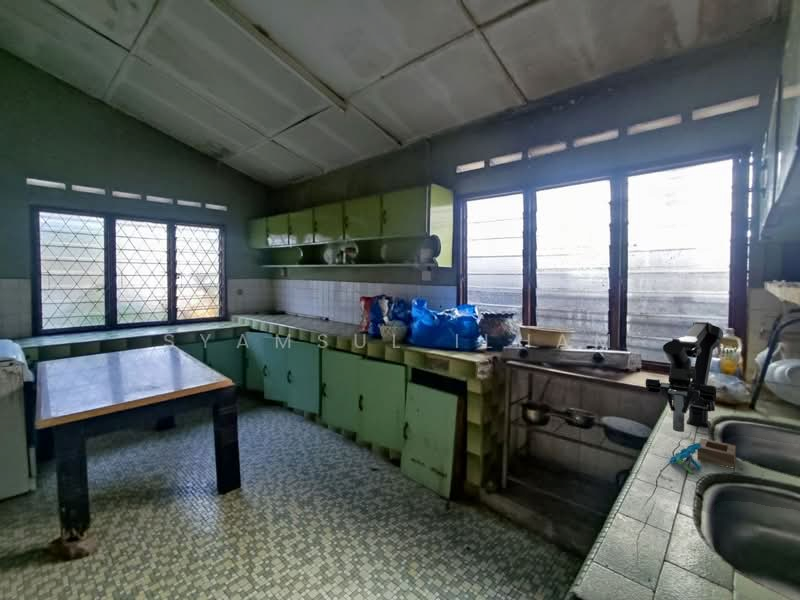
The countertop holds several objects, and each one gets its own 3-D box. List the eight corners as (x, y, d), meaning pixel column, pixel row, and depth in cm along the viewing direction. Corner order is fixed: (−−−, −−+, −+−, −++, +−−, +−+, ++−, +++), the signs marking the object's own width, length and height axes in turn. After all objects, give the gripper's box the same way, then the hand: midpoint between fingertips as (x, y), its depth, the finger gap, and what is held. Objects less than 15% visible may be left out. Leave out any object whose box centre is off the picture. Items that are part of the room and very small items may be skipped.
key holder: (700, 449, 119) (700, 437, 118) (735, 458, 113) (735, 445, 112) (697, 459, 113) (697, 446, 112) (733, 468, 107) (734, 455, 106)
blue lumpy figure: (675, 449, 116) (702, 436, 109) (692, 466, 113) (720, 454, 106) (660, 464, 110) (687, 452, 103) (677, 483, 107) (706, 471, 101)
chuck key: (668, 426, 122) (668, 387, 121) (687, 430, 119) (687, 390, 118) (666, 429, 120) (667, 390, 119) (686, 433, 116) (686, 393, 116)
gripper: (646, 355, 127) (641, 394, 119) (716, 361, 115) (716, 405, 107) (648, 372, 133) (645, 410, 125) (715, 379, 121) (716, 422, 113)
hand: (678, 411), depth 118 cm, fingers closed on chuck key, 3 cm apart
